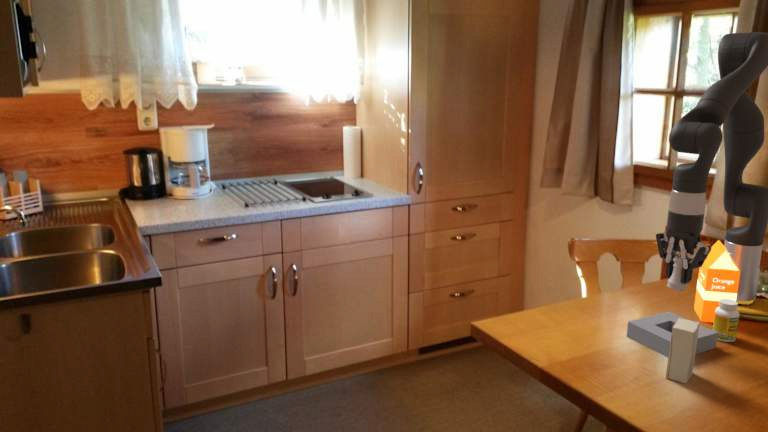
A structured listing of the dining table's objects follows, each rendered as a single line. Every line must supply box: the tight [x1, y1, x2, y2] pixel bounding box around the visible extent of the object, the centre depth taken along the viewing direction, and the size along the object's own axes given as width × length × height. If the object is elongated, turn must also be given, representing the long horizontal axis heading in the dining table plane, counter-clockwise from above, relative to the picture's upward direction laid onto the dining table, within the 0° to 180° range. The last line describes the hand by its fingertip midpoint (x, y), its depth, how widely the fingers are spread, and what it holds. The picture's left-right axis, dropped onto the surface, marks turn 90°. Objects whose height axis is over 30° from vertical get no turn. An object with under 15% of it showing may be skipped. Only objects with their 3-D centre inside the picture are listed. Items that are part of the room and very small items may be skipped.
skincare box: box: [665, 317, 701, 385], centre depth 136 cm, size 6×4×12 cm
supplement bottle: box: [711, 299, 740, 343], centre depth 154 cm, size 5×5×10 cm
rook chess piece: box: [666, 253, 688, 292], centre depth 149 cm, size 4×4×8 cm
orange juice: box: [693, 239, 740, 323], centre depth 166 cm, size 8×9×20 cm
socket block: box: [626, 310, 718, 358], centre depth 153 cm, size 14×14×4 cm
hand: (677, 279), depth 149 cm, fingers closed on rook chess piece, 3 cm apart
